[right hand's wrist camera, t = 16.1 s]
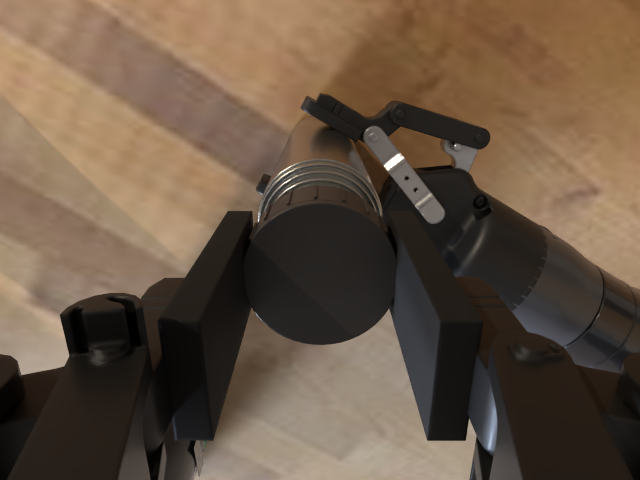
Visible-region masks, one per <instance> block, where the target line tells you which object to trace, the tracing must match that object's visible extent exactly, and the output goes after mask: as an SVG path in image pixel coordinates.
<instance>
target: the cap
mask: <svg viewBox="0 0 640 480" xmlns="http://www.w3.org/2000/svg"><path fill="white" fill-rule="evenodd" d="M388 233H389V232H388V230H387V228H386V225H385V223H384V220H383V218H382V216H379V215H378V214H377V212H376V211H375V210H374V209H373V208H372V207H371V206H370V205H369V204H368V203H367V202H366V199H365V198H363V199H362V198H360V197H359V196H357V195H356V194H353V193H351V192H349V191H347V190H344V189H343V187H340V188H337V187H331V186H317V184H315V185H314V186H309V187H305V188H300V189H297V190H294V191H292V190H290V191H289V193H288V194H286V195H284V196H282V197H281V198H279V199H278V200H276V201H275V202H274V203H273V204H271V203H270V204H269V205H268V208H267V210H266V211H265V212H264V213H263V215H262V217H261V218H260V220H259V221H258V224H257V223H255V225H254V228H253V230H252V232H251V235H250V237H249V240H248V241H249V242H250V243H249V245H248V248H247V250H246V253H245V257H244V274H245V289H246V297H247V299H248V301H249V304H250V306H251V307H252V309H253V310H254V312H255V313H256V315H257V316H258V317H259V318H260V319H261V321H263V322H264V323H265V324H266V325H267V326H268V327H269V328H271V329H272V330H274V331H275V332H276V333H278V334H280V335H282V336H284V337H286V338H288V339H291V340H294V341H297V342H301V343H306V344H314V345H326V344H335V343H340V342H344V341H347V340H350V339H352V338H355V337H357V336H359V335H361V334H363V333H364V332H366V331H368V330H369V329H370V328H372V327H373V326H374V325H375V324H376V323H377V322H378V321H379V320H380V319H381V318H382V317H383V316H384V314H385V313H386V312H387V310H388V309H389V307H390V305H391V304H392V301H393V299H394V296H395V281H396V266H397V256H396V253H395V250H394V248H393V245H392V243H391V240H390V238H389V235H388Z"/></svg>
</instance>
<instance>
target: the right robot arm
mask: <svg viewBox="0 0 640 480" xmlns="http://www.w3.org/2000/svg"><path fill="white" fill-rule="evenodd" d="M252 230H253V216H252V211H228V212H227V214H226V215H225V217H224V218H223V220H222V221H221V223H220V224H219V226H218V228H217V229H216V231H215V232H214V234H213V235H212V237H211V238H210V240H209V242H208V243H207V245H206V246H205V248H204V249H203V251H202V252H201V254H200V255H199V257H198V259H197V260H196V262H195V263H194V265H193V266H192V268H191V269H190V271H189V272H188V274H187V276H186V277H185V278H164V279H162V280H161V281H159V282H157V283H156V284H154V285H152V286H151V287H149V288H148V290H147V291H146V292H145V294H144V295H143V296H142V297H141V299H139V298H138V297H137V296H135V295H131V294H126V293H108V294H102V295H97V296H93V297H90V298H87V299H84V300H81V301H78V302H77V303H75V304H73V305H71V306H69V307H67V308H66V309H65V310H64V311H63V312H62V313H61V314H60V317H61V322H62V326H63V330H64V334H65V339H66V343H67V347H68V351H69V358H68V360H67V362H66V364H65V366H64V367H61V368H57V369H52V370H46V371H41V372H36V373H31V374H25V375H21V372H20V369H19V365H18V362H17V360H15V359H14V358H13V357H11V356H8V355H2V354H0V480H164V475H165V467H166V459H167V457H166V450H165V443H164V436H165V434H166V431H167V429H168V427H169V424H170V422H171V420H172V424H173V431H174V438H175V441H213V439H214V436H215V432H216V429H217V425H218V422H219V418H220V415H221V411H222V408H223V404H224V401H225V397H226V394H227V390H228V387H229V383H230V380H231V376H232V373H233V369H234V366H235V362H236V359H237V356H238V352H239V349H240V345H241V342H242V338H243V335H244V331H245V328H246V324H247V321H248V317H249V314H250V310H251V306H250V304H249V301H248V299H247V297H246V289H245V274H244V257H245V253H246V250H247V248H248V245H249V243H250V242H249V241H248V240H249V237H250V235H251V232H252ZM387 230H388V232H389V233H388V235H389V238H390V240H391V243H392V245H393V248H394V250H395V253H396V256H397V266H396V281H395V296H394V299H393V301H392V304H391V305H390V307H389V309H390V312H391V316H392V319H393V322H394V326H395V329H396V333H397V336H398V340H399V343H400V347H401V350H402V354H403V357H404V361H405V364H406V368H407V371H408V375H409V378H410V382H411V385H412V389H413V392H414V396H415V399H416V402H417V406H418V409H419V413H420V416H421V420H422V423H423V427H424V430H425V434H426V437H427V441H466V435H467V428H468V421H469V418H470V421H471V423H472V425H473V428H474V430H475V432H476V435H477V437H476V443H475V450H474V456H473V462H472V468H471V474H470V480H640V352H639V353H633V354H630V355H628V356H627V357H626V358H625V359H624V361H623V364H622V368H621V371H620V373H615V372H610V371H605V370H599V369H594V368H589V367H584V366H580V365H576V364H575V363H574V361H573V359H572V358H571V356H570V354H569V353H568V352H567V351H566V350H565V348H564V347H563V346H561V345H559V344H558V343H556V342H555V341H553V340H552V339H549V338H546V337H544V336H541V335H539V334H535V333H530V332H527V330H526V329H525V328H524V327H523V325H522V324H521V323H520V322H519V320H518V319H517V318H516V316H515V315H514V314H513V313H512V311H511V310H510V309H509V308H507V305H506V304H505V302H504V301H503V300H502V299H500V296H499V295H498V294H497V292H496V291H495V290H494V289H493V287H492V286H491V285H489V284H488V283H486V282H484V281H483V280H481V279H479V278H478V277H476V276H454V275H453V273H452V272H451V270H450V269H449V267H448V265H447V264H446V262H445V261H444V259H443V258H442V256H441V255H440V253H439V252H438V250H437V248H436V247H435V245H434V244H433V242H432V241H431V239H430V238H429V236H428V234H427V233H426V231H425V230H424V228H423V227H422V225H421V224H420V222H419V221H418V219H417V217H416V216H415V214H414V213H413V211H388V225H387Z"/></svg>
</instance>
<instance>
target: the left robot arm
mask: <svg viewBox="0 0 640 480" xmlns="http://www.w3.org/2000/svg"><path fill="white" fill-rule="evenodd" d="M301 109H302V110H304V111H305V112H307V113H309V114H310V115H312V116H313V117H315V118H317V119H318V120H320V121H322V122H323V123H325V124H327V125H328V126H330V127H332V128H333V129H335V130H337V131H339V132H341V133H342V134H344V135H345V136H347V137H348V138H350V139H352V140H353V141H355V142H357V140H358V139H359V140H361V141H362V142H364V143H366V145H367V146H368V147H369V148H370V150H371V151H372V152H373V153H374V155H375V156H376V157H377V158H378V160H379V161H380V162H381V164H382V165H383V166H384V167H385V169H386V170H387V171H388V173H389V174H390V175H391V176H390V175H389V176H388V178H387V180H386V181H385V183H384V184H383V186H382V189H381V192H380V195H379V199H380V203H381V207H382V217H383V220H384V223H385V225H386V228H387V225H388V211H413V213H414V214H415V216H416V217H417V219H418V221H419V222H420V224H421V225H422V227H423V228H424V230H425V231H426V233H427V234H428V236H429V238H430V239H431V241H432V242H433V244H434V245H435V247H436V248H437V250H438V252H439V253H440V255H441V256H442V258H443V259H444V261H445V262H446V264H447V265H448V267H449V269H450V270H451V272H452V273H453V275H454V276H476V277H478V278H479V279H481V280H483V281H484V282H486V283H488V284H489V285H491V286H492V287H493V289H494V290H495V291H496V292H497V294H498V295H499V296H500V299H502V300H503V301H504V302H505V304H506V305H507V308H509V309H510V310H511V311H512V313H513V314H514V315H515V316H516V318H517V319H518V320H519V322H520V323H521V324H522V325H523V327H524V328H525V329H526V330H527V332H530V333H535V334H539V335H541V336H544V337H546V338H549V339H552V340H553V341H555V342H556V343H558V344H559V345H561V346H563V347H564V348H565V350H566V351H567V352H568V353H569V354H570V356H571V358H572V359H573V361H574V363H575V364H576V365H580V366H584V367H589V368H594V369H599V370H605V371H610V372H615V373H620V371H621V368H622V364H623V361H624V359H625V358H626V357H627V356H628V355H630V354H633V353H639V352H640V289H638V288H634V287H631V286H629V285H628V284H626V283H625V282H623V281H621V280H619V279H618V278H616V277H615V276H613V275H611V274H610V273H608V272H606V271H605V270H603V269H601V268H600V267H598V266H597V265H595V264H593V263H592V262H590V261H589V260H588V259H586V258H585V257H584V256H583V255H582V254H580V253H579V252H578V251H577V250H576V249H574V248H573V247H572V246H571V245H569V244H568V243H567V242H565V241H564V240H562V239H560V238H559V237H557V236H555V235H554V234H552V232H550V231H549V230H548V229H547V228H545V227H543V226H541V225H538V224H536V223H534V222H533V221H531V220H529V219H528V218H526V217H525V216H523V215H521V214H520V213H518V212H516V211H515V210H513V209H512V208H510V207H508V206H507V205H505V204H503V203H502V202H500V201H499V200H497V199H495V198H494V197H492V196H490V195H489V194H487V193H486V192H484V191H482V190H481V189H479V188H478V187H477V185H476V184H475V182H474V180H473V178H472V176H471V175H470V174H469V170H470V168H471V165H472V163H473V161H474V158H475V156H476V153H477V151H478V149H482V148H484V147H486V146H487V145H488V143H489V141H490V134H489V132H488V131H487V130H486V129H484V128H481V127H479V126H476V125H473V124H470V123H467V122H464V121H460V120H457V119H454V118H451V117H448V116H444V115H441V114H438V113H435V112H431V111H428V110H425V109H422V108H418V107H415V106H412V105H409V104H405V103H402V102H399V101H391V102H389V103H388V104H387V105H386V107H385V108H384V109H383V110H382V111H380V112H379V113H378V114H377V115H375V116H373V117H365V116H363V115H361V114H359V113H358V112H356V111H354V110H353V109H351V108H350V107H348V106H346V105H345V104H343V103H342V102H340V101H338V100H337V99H335V98H333V97H332V96H330V95H327V94H321V93H320V94H319V96H318V98H317V100H314V99H312V98H311V97H309V96H306V98H305V100H304V102H303V104H302V106H301ZM399 127H405V128H408V129H411V130H415V131H418V132H421V133H424V134H428V135H431V136H434V137H438V138H441V142H440V146H441V149H442V150H443V151H444V152H446V153H447V154H449V155H450V156H451V160H452V162H451V165H445V166H435V167H425V168H414V169H413V168H412V167H411V166H410V165H409V163H408V162H407V161H406V159H405V158H404V157H403V156H402V154H401V153H400V152H399V151H398V149H397V148H396V147H395V145H394V144H393V143H392V142H391V140H390V139H389V138H388V136H389V135H391V134H392V133H393V132H394V131H396V130H397V129H398V128H399ZM270 178H271V176H269V175H266V174H264V175H263V176H262V178H261V180H260V182H259V184H258V186H257V187H256V190H257V191H258V192H259V193H261V194H262V195H263V194H264V192H265V189H266V187H267V185H268V183H269V180H270ZM206 442H207V441H175V438H174V431H173V424H172V420H171V422H170V424H169V427H168V429H167V431H166V434H165V436H164V443H165V450H166V457H167V459H166V467H165V475H164V480H194V477H195V474H196V471H197V468H198V473H199V476H200V472H201V469H202V466H203V459H202V452H203V450H204V448H205V445H206Z"/></svg>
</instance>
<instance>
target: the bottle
mask: <svg viewBox="0 0 640 480" xmlns="http://www.w3.org/2000/svg"><path fill="white" fill-rule="evenodd" d="M315 184H317V186H331V187H337V188H340V187H343V189H344V190H347V191H349V192H351V193H353V194H356V195H357V196H359V197H360V198H362V199H363V198H365V199H366V202H367V203H368V204H369V205H370V206H371V207H372V208H373V209H374V210H375V211H376V212H377V214H378V215H379V216H382V207H381V203H380V199H379V196H378V194H377V192H376V190H375V188H374V186H373V183H372V181H371V179H370V177H369V175H368V173H367V170H366V168H365V166H364V164H363V162H362V159H361V157H360V155H359V153H358V151H357V149H356V146H355V144H354V142H353V140H352V139H350V138H348V137H347V136H345V135H344V134H342V133H341V132H339V131H337V130H335V129H333V128H332V127H330V126H328V125H327V124H325V123H323V122H322V121H320V120H318V119H317V118H315V117H313V116H309V117H306V118H304V119H303V120H301V121H300V122H299V123H298V124H297V125H296V126H295V127H294V129H293V130H292V132H291V134H290V136H289V139H288V141H287V143H286V145H285V147H284V150H283V152H282V154H281V156H280V158H279V161H278V163H277V165H276V167H275V169H274V172H273V174H272V176H271V178H270V180H269V183H268V185H267V187H266V189H265V192H264V194H263V196H262V198H261V202H260V205H259V212H258V221H259V220H260V218H261V217H262V215H263V213H264V212H265V211H266V210H267V208H268V205H269V204H270V203H271V204H273V203H274V202H275V201H276V200H278V199H279V198H281V197H282V196H284V195H286V194H288V193H289V191H290V190H292V191H294V190H297V189H300V188H305V187H309V186H314V185H315ZM382 218H383V217H382Z"/></svg>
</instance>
